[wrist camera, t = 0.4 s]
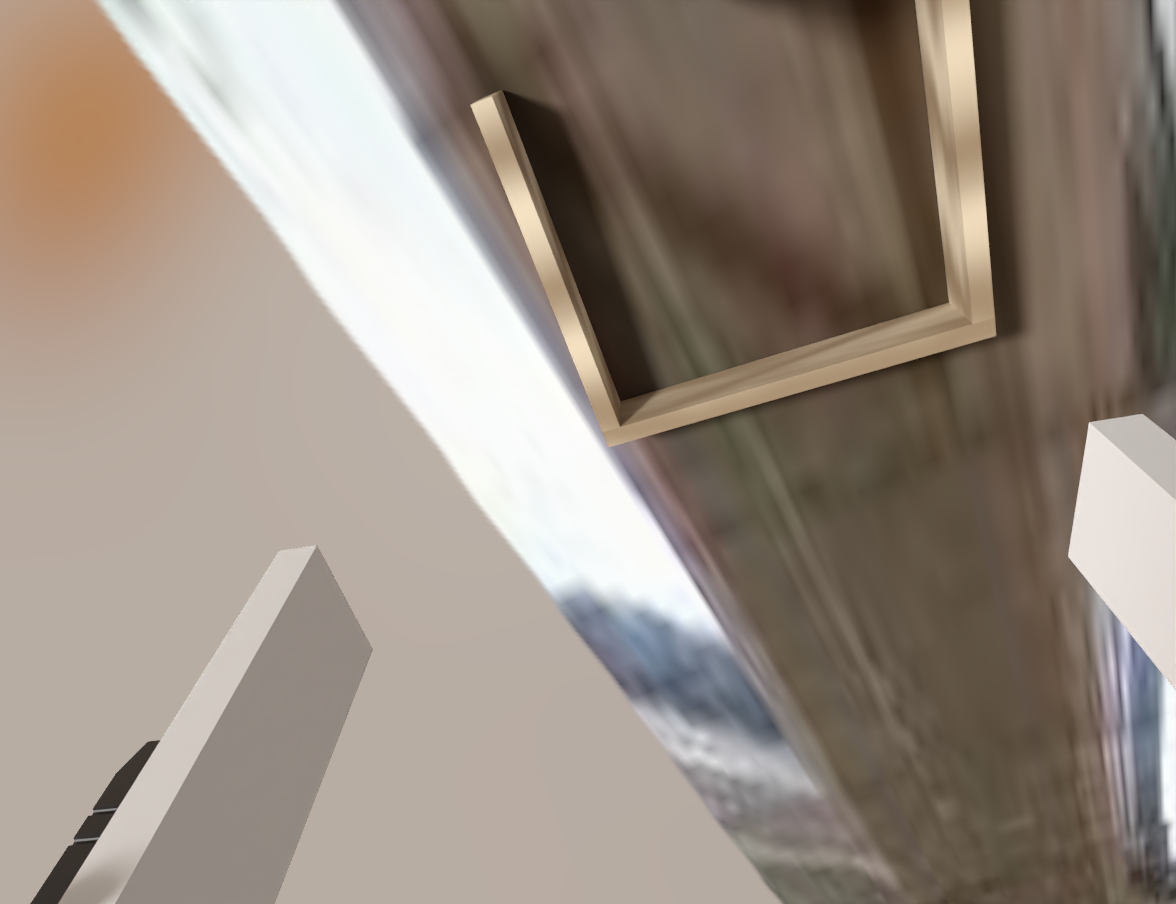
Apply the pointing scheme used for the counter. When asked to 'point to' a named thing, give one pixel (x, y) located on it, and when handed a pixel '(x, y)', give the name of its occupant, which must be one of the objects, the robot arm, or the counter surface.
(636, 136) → the counter surface
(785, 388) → the tray
